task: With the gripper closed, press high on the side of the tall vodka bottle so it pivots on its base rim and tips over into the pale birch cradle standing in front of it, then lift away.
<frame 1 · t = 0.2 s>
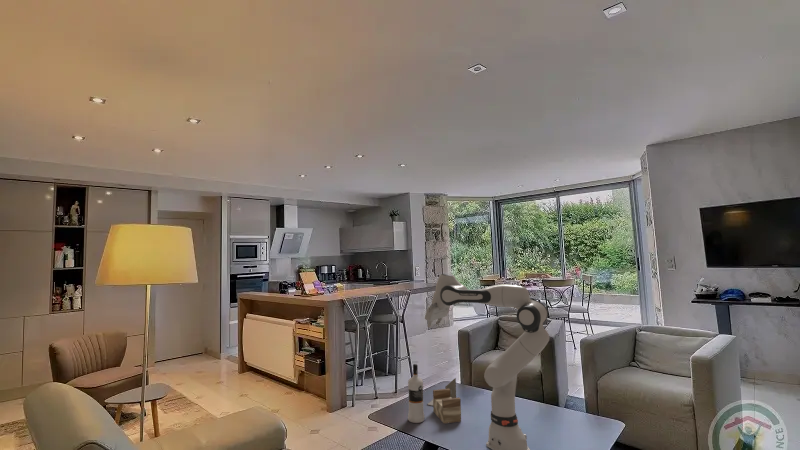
hand: (433, 325, 209), 52 cm above the table, tool tilted 20°, fingers open, 8 cm apart
laptop: (442, 402, 236), on the table
vodka: (416, 420, 210), on the table
cradle: (446, 416, 215), on the table
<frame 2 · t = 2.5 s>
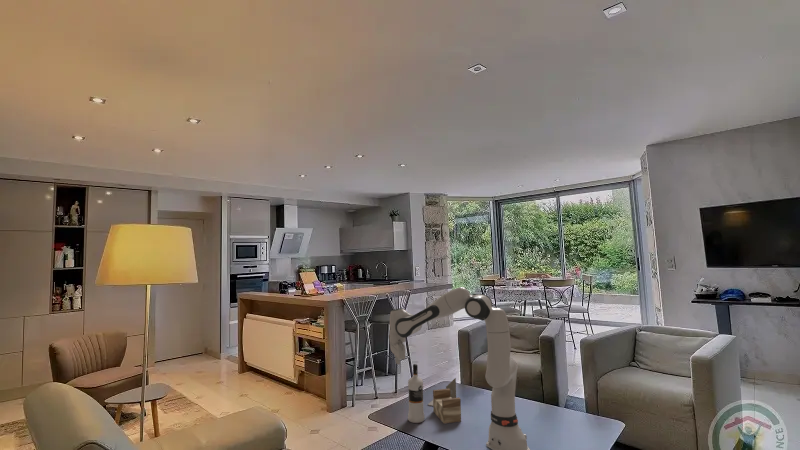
hand: (397, 363, 210), 31 cm above the table, tool pointing down, fingers closed
nothing on the table moved.
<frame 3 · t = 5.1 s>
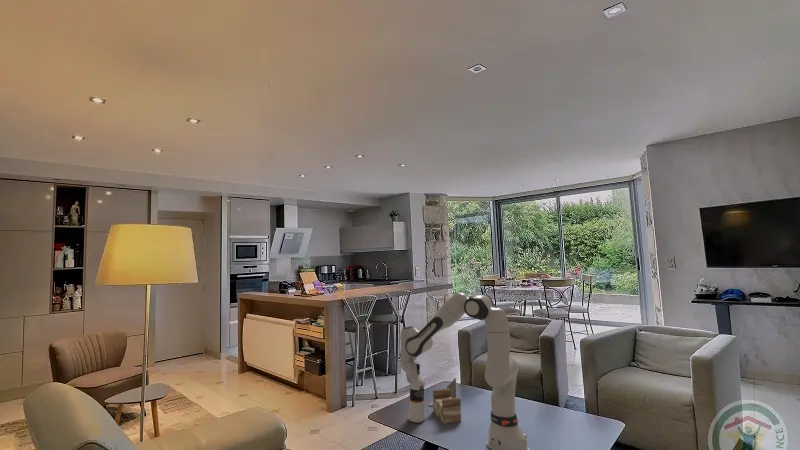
hand: (409, 381, 211), 21 cm above the table, tool pointing down, fingers closed
vodka: (416, 420, 210), on the table, touching gripper
everything else where it was.
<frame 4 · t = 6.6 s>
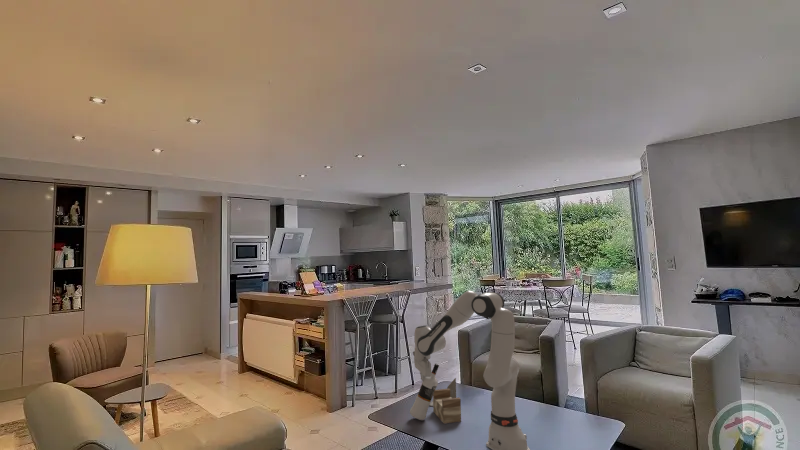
hand: (423, 380, 213), 21 cm above the table, tool pointing down, fingers closed
vodka: (416, 416, 210), point 2 cm above the table
everything else where it was.
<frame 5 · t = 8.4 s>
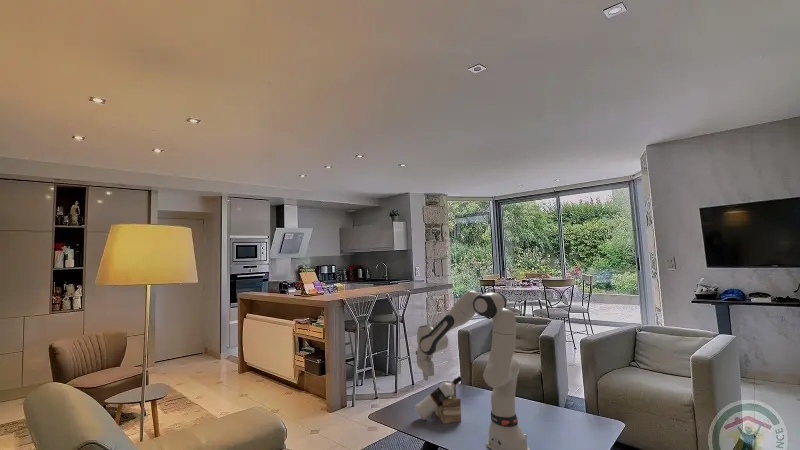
hand: (425, 379, 213), 21 cm above the table, tool pointing down, fingers closed
vodka: (419, 413, 210), point 4 cm above the table, touching cradle
everything else where it was.
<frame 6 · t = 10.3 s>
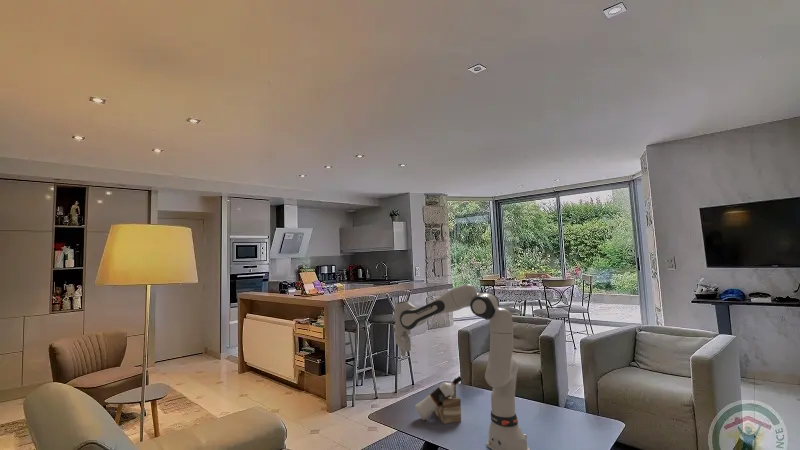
hand: (403, 356, 211), 35 cm above the table, tool pointing down, fingers closed
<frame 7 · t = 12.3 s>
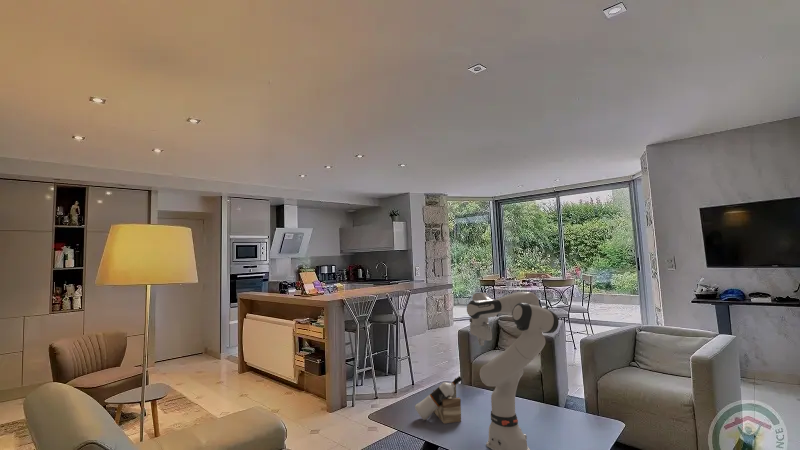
hand: (481, 345, 219), 39 cm above the table, tool pointing down, fingers closed
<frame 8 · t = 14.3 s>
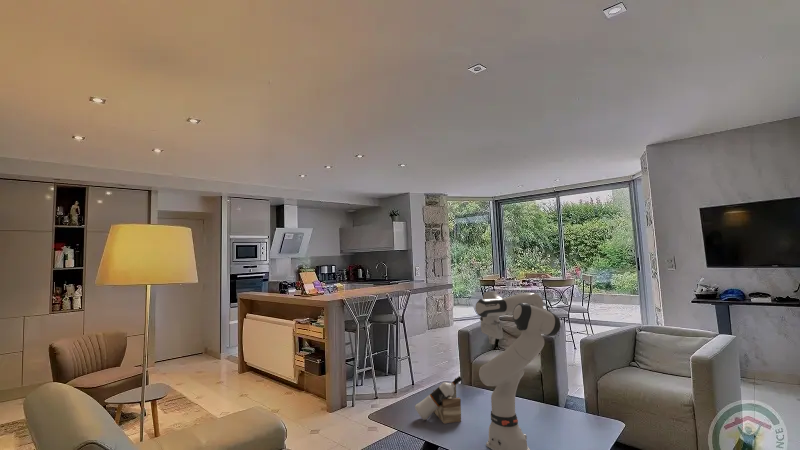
hand: (492, 343, 220), 39 cm above the table, tool pointing down, fingers closed
at the end: vodka tilted 53°; vodka touching cradle, table; vodka inside the target area (3.7 cm from its centre), point 3.6 cm above the table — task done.
